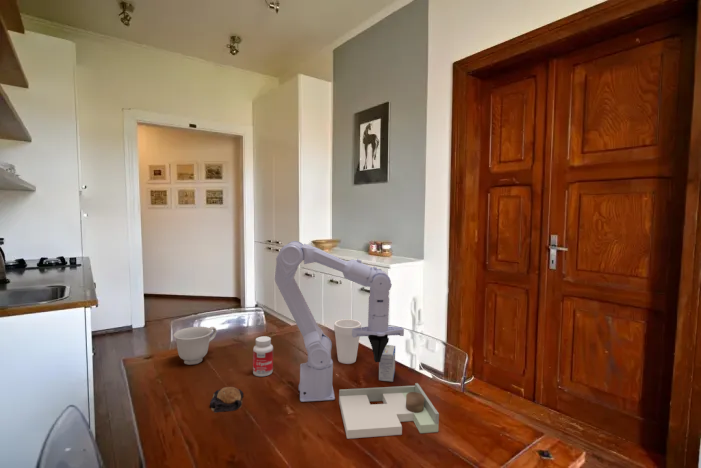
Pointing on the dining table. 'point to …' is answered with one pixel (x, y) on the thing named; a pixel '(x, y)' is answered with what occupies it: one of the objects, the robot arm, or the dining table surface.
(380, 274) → the robot arm
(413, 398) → the brown wooden cylinder
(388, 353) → the medicine box
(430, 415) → the box
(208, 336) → the teacup
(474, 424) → the dining table surface
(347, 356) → the foam cup
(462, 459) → the dining table surface
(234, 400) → the tan black low dome
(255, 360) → the pill bottle
